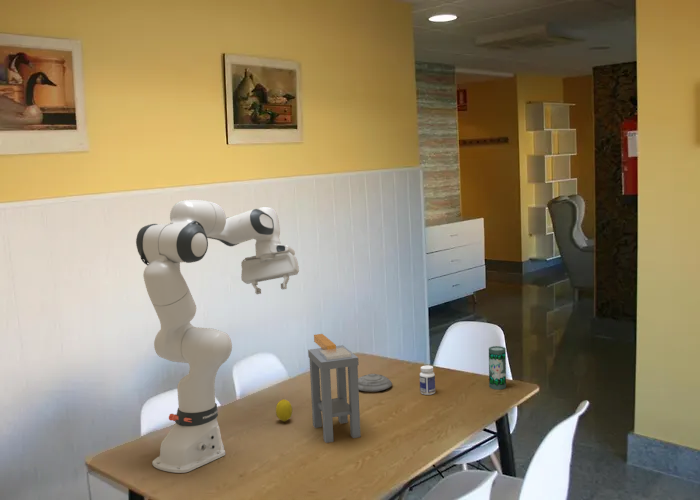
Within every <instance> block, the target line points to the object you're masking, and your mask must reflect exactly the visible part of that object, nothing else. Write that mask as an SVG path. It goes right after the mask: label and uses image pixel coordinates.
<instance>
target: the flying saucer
mask: <svg viewBox="0 0 700 500" xmlns="http://www.w3.org/2000/svg"><path fill="white" fill-rule="evenodd" d="M392 386H393V382H392V380H391V379H389V378H388V377H387V376H385V375H383V374H378V373H369V374H365V375H362V376H360V377H358V387H359V391H362V392H368V393H370V392H372V393H373V392H374V393H375V392H380V391H385V390H388V389H389V388H391V387H392Z"/></svg>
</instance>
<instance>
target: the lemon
mask: <svg viewBox="0 0 700 500" xmlns="http://www.w3.org/2000/svg"><path fill="white" fill-rule="evenodd" d="M275 414H276V417H277V419H279V420H280V421H282V422H283V423H285V422H286V421H288V420H289V419H291V417H292V414H293V407H292V404H291V402H290V401H288V399H285V398H282V399H280V400H279V401H278V402H277V404H276V407H275Z"/></svg>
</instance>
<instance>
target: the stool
mask: <svg viewBox="0 0 700 500" xmlns="http://www.w3.org/2000/svg"><path fill="white" fill-rule="evenodd" d="M336 348H345V349H346V350H347V351H348V352H350V353H351V358H344V359H337V360H329V361H326V360H325V359H324V358H323V357H322V356H321V355H320V351H321V350H323V349H322V348H321V347H319V348H318V347H317V348H311V349H307V354H308V358H309V374H310V377H309V378H310V392H311V393H310V395H311V396H310V397H311V414H312V415H311V416H312V426H313V427H314V429H318V428H322V430H323V431H322V432H323V433H322V434H323V441H324V442H325V443H326V444H327V443H334V429H333V428H334V427H333V426H334V424H333V423H334V421H333V418H337V417H338V423H340V424H347V423H349V429H350V431H349V432H350V437H351V438H352V439H356V438H361V416H360V415H361V414H360V390H359V387H358V378H359V367H358V366H359V362H360V361H359V356H357V355H356V354H354V353H353V352H352V351H351V350H350V349H349V348H347V347H346V346H344V345H343V344H342V345H336ZM346 368H347V370H346ZM331 370H336V371H335V372H336V373H335V374H336V390H337V391H336V392H337V393H336V394H337V396H336V398H332V381H331ZM346 371H347V372H346ZM346 373H347V374H346ZM347 383H348V395H347ZM347 397H348V398H347ZM348 401H349V402H348ZM348 417H349V418H348Z"/></svg>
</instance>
